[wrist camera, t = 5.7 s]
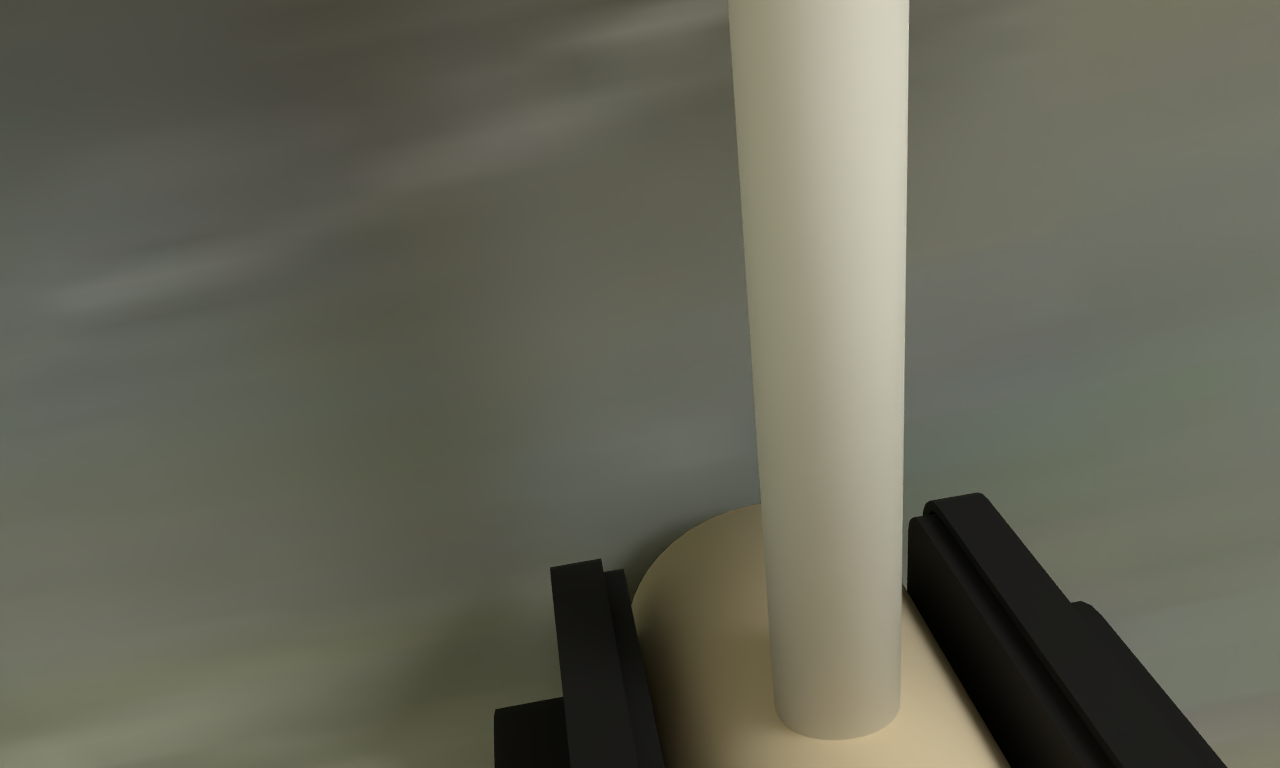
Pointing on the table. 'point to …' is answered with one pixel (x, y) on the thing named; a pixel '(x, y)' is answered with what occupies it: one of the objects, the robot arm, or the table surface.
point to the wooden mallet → (812, 436)
